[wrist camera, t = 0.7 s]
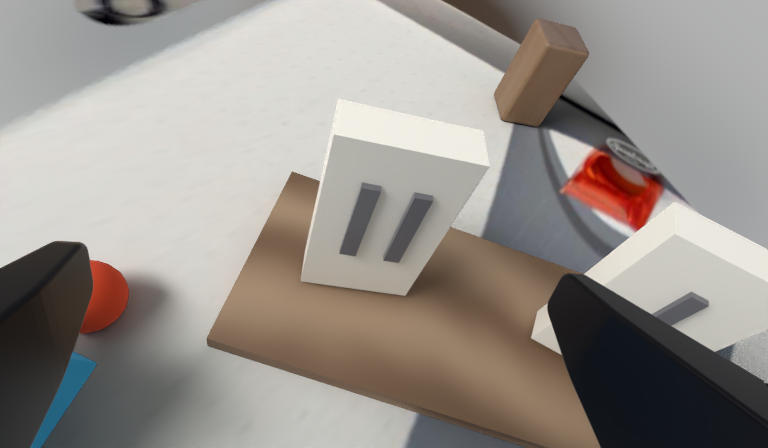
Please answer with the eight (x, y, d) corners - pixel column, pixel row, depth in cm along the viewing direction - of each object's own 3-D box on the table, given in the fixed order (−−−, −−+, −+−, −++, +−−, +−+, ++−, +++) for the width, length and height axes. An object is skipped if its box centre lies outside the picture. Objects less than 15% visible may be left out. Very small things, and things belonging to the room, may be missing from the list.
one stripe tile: (623, 394, 25) (820, 314, 17) (529, 342, 26) (675, 239, 17) (626, 359, 27) (808, 270, 18) (537, 311, 27) (674, 201, 19)
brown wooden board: (671, 493, 24) (685, 491, 23) (207, 345, 22) (206, 338, 21) (639, 303, 31) (649, 296, 31) (290, 181, 30) (292, 171, 29)
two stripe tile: (405, 300, 25) (490, 172, 17) (299, 286, 24) (333, 140, 15) (404, 265, 27) (483, 131, 18) (304, 250, 25) (338, 98, 17)
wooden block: (528, 101, 43) (577, 26, 37) (538, 129, 41) (592, 54, 35) (491, 93, 42) (535, 15, 36) (499, 121, 40) (547, 43, 34)
